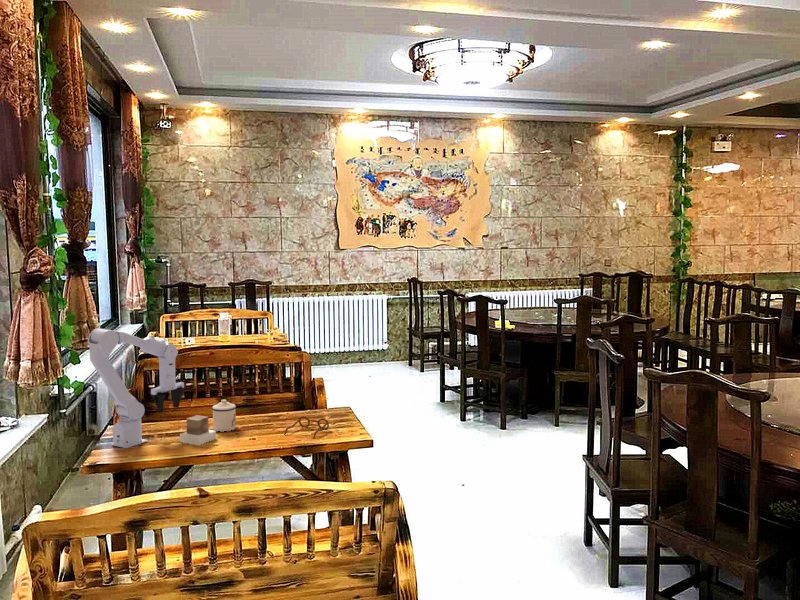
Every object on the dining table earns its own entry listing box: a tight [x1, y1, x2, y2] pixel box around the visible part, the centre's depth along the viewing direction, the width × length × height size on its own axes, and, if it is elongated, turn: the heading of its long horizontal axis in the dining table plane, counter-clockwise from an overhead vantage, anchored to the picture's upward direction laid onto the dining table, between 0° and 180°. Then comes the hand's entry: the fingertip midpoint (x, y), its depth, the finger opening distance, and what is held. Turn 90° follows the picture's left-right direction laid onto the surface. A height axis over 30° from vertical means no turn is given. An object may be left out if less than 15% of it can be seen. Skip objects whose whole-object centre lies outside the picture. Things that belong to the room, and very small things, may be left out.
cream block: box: [179, 429, 217, 446], centre depth 244 cm, size 9×9×4 cm
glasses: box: [283, 416, 330, 440], centre depth 255 cm, size 13×13×5 cm
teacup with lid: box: [211, 399, 237, 433], centre depth 260 cm, size 12×9×12 cm
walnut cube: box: [186, 414, 210, 435], centre depth 244 cm, size 6×6×6 cm
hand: (168, 409), depth 252 cm, fingers open, 7 cm apart
